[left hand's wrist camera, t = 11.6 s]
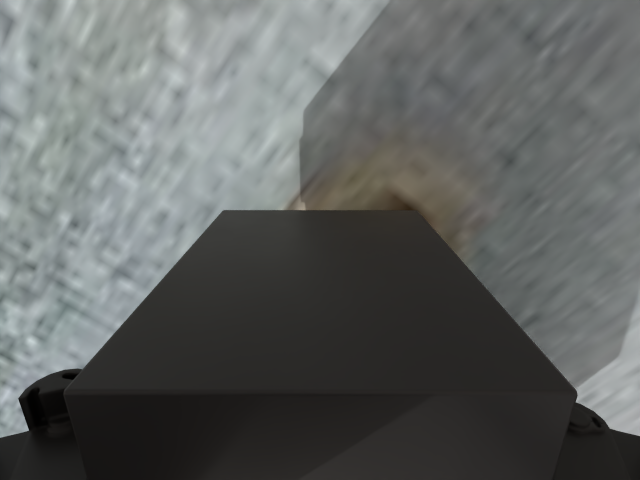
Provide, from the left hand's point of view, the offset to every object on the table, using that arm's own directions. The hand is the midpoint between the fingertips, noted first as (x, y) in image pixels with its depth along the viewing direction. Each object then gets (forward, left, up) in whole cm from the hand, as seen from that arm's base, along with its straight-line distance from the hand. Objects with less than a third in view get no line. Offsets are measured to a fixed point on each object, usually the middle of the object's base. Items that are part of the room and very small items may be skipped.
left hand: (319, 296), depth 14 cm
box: (+8, -1, -1) cm, 8 cm away
